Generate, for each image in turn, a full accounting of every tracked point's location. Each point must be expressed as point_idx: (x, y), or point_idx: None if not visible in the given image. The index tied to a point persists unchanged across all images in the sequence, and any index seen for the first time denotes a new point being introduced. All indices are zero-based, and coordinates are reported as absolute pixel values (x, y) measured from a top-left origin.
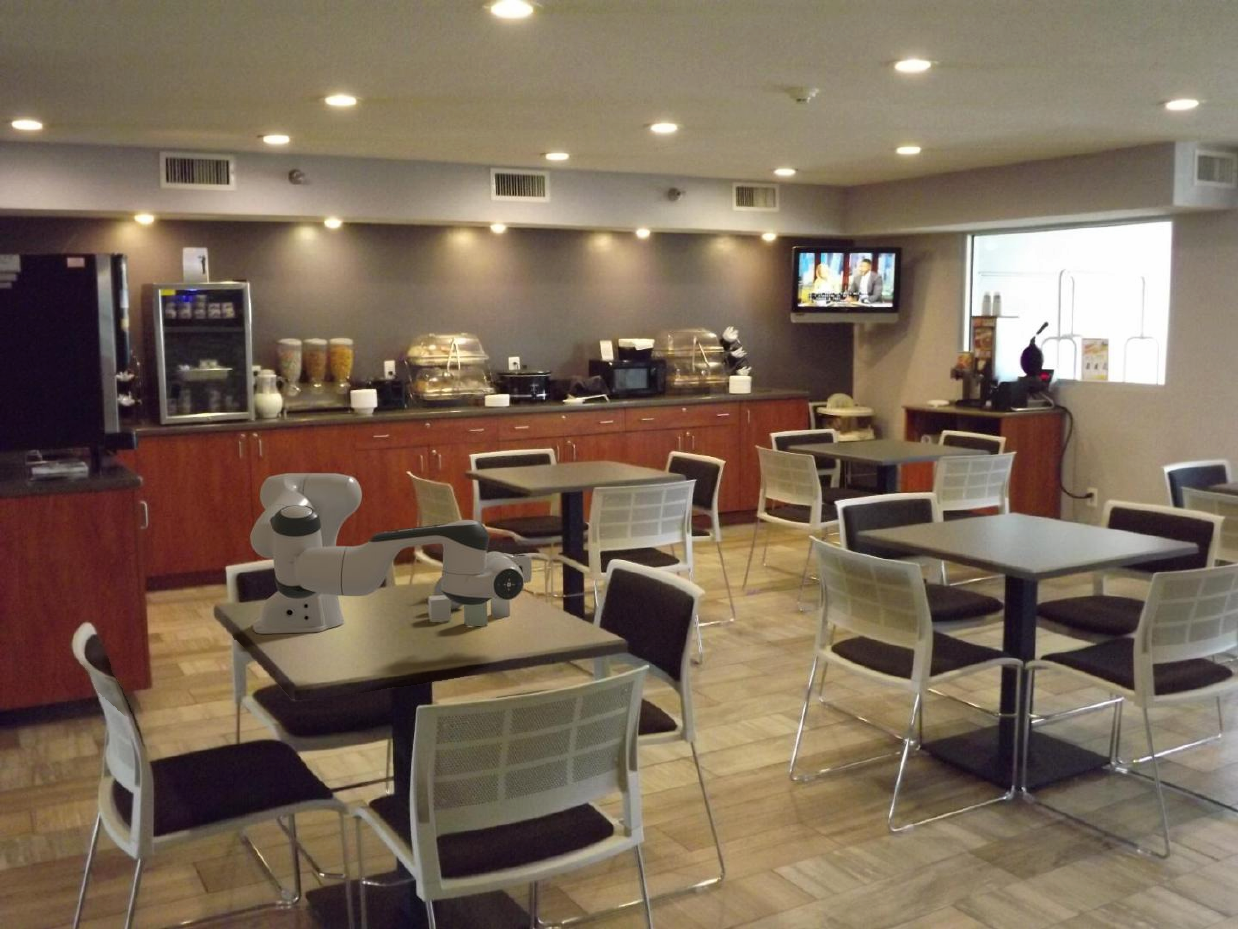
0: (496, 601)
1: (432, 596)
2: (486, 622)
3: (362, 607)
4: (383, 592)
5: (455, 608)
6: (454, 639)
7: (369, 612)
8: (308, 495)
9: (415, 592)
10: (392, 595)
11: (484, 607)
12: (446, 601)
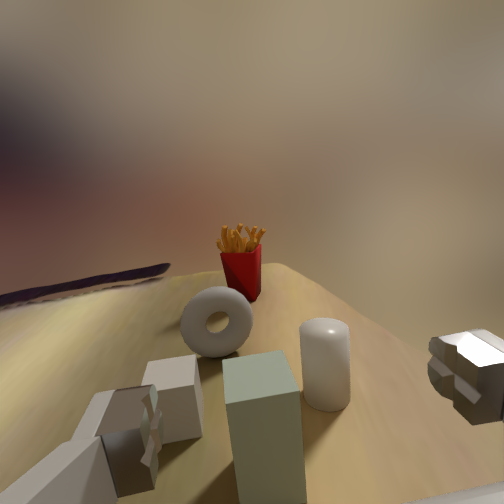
0: (319, 375)
1: (157, 362)
2: (303, 493)
3: (82, 339)
4: (148, 292)
5: (227, 354)
6: None
7: (73, 362)
8: None
9: (187, 292)
10: (154, 300)
11: (294, 452)
12: (183, 392)
